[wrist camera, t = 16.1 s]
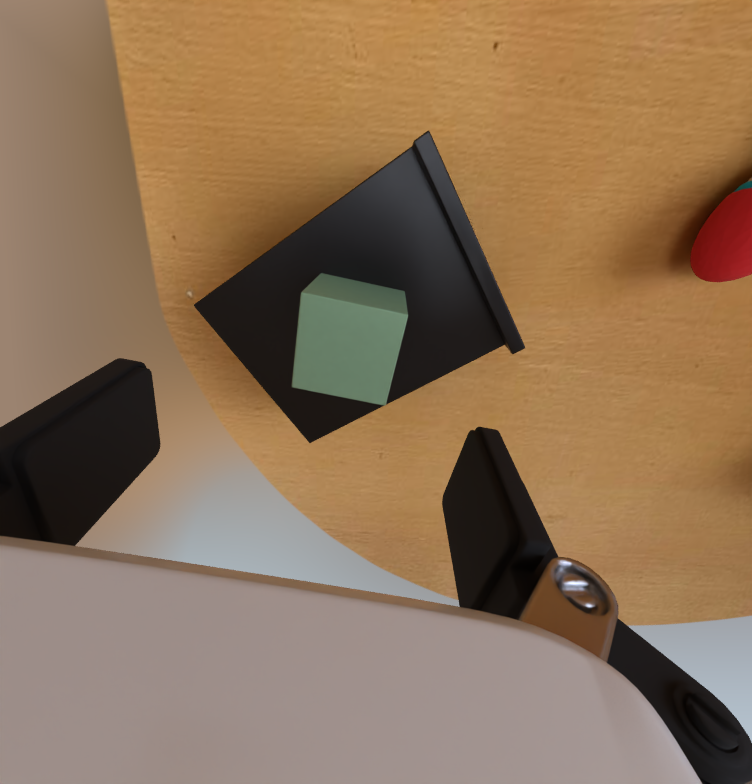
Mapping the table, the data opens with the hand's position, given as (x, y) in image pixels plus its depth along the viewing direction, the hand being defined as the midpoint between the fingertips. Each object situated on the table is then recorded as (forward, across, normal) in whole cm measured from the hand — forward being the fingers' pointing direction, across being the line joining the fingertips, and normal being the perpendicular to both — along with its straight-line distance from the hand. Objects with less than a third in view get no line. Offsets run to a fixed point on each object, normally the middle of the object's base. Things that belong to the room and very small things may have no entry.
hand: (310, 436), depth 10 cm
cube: (+12, 0, 0) cm, 12 cm away
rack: (+19, 0, 0) cm, 19 cm away
